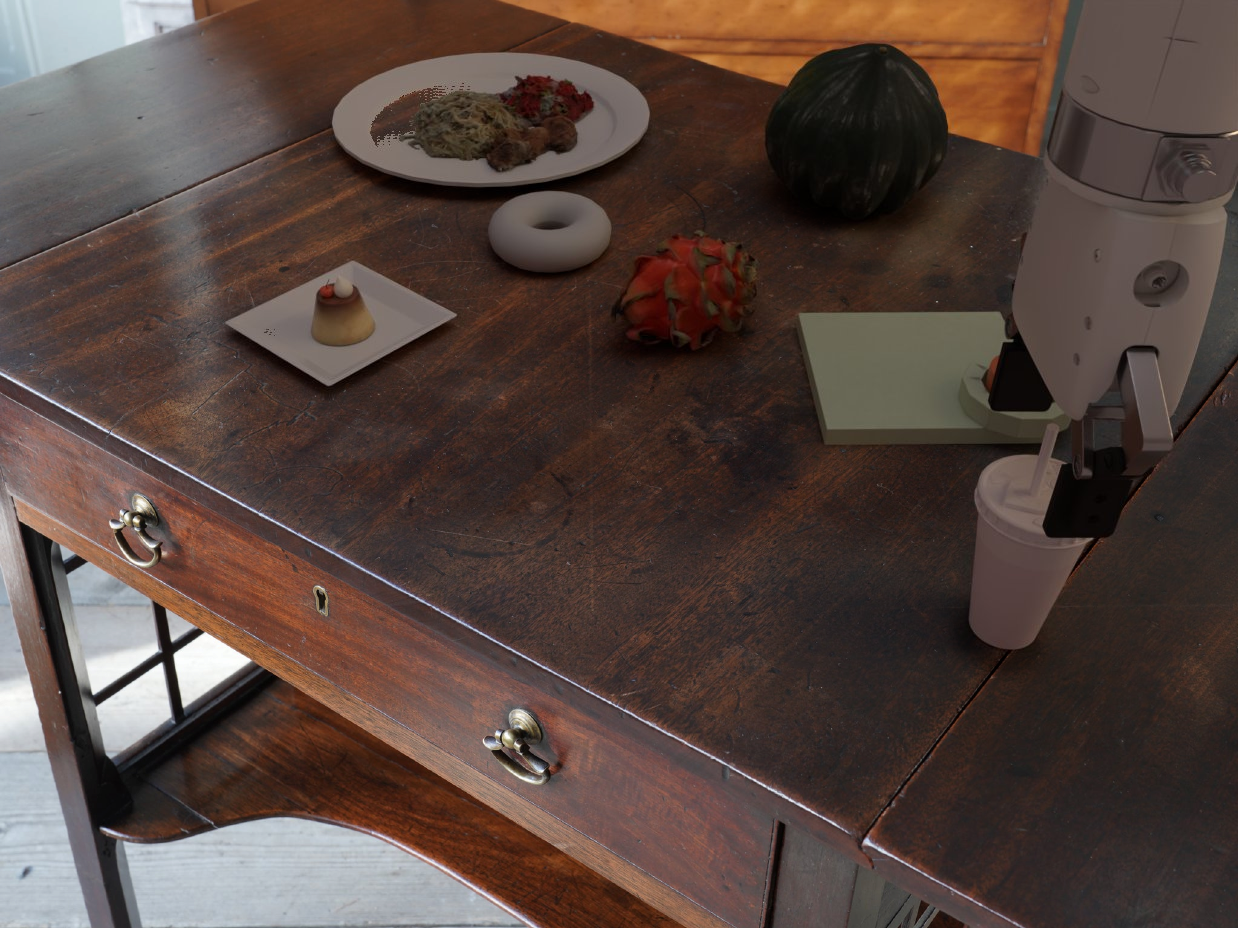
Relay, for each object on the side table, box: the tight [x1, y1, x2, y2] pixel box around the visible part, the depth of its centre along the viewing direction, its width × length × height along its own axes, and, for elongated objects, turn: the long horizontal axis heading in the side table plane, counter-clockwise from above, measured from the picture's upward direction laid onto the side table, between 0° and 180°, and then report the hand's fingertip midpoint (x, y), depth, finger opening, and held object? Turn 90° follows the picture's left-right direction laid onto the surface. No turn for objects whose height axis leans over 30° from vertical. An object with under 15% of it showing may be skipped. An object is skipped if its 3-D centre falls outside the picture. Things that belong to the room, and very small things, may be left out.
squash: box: [764, 42, 949, 221], centre depth 103 cm, size 14×15×15 cm
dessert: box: [224, 260, 458, 387], centre depth 88 cm, size 12×12×5 cm
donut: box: [487, 190, 613, 274], centre depth 98 cm, size 10×4×10 cm
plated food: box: [331, 51, 651, 188], centre depth 116 cm, size 30×30×3 cm
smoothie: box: [968, 424, 1094, 650], centre depth 63 cm, size 6×6×14 cm
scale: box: [795, 311, 1072, 446], centre depth 84 cm, size 17×15×3 cm
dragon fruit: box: [610, 229, 759, 351], centre depth 88 cm, size 8×8×12 cm
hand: (1045, 467), depth 60 cm, fingers open, 9 cm apart
